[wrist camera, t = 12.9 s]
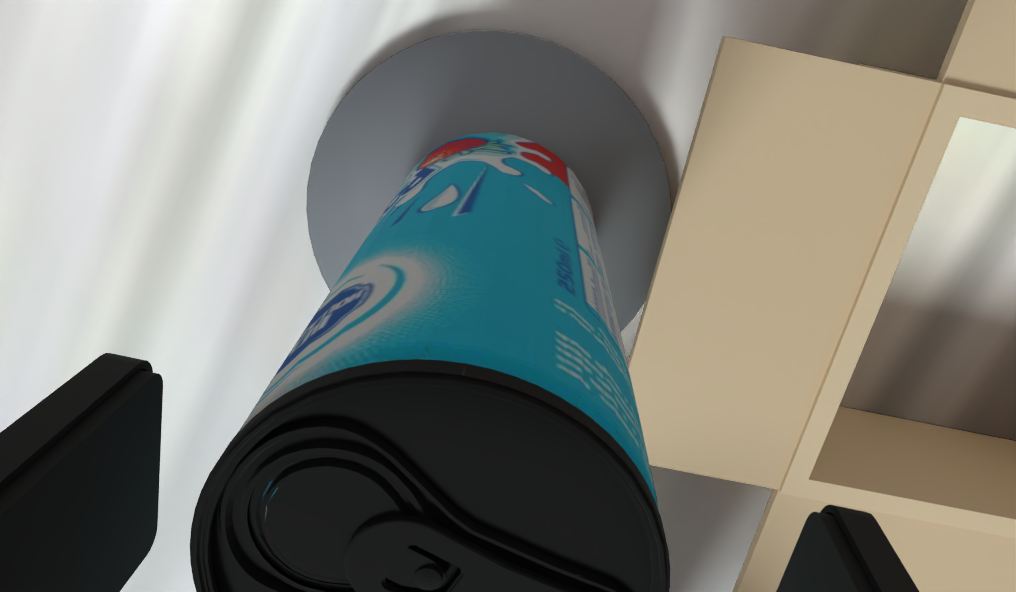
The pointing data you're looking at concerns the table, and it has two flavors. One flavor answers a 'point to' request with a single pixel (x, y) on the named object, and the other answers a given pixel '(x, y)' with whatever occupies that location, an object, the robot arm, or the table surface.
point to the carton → (820, 303)
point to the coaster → (499, 109)
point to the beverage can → (448, 408)
